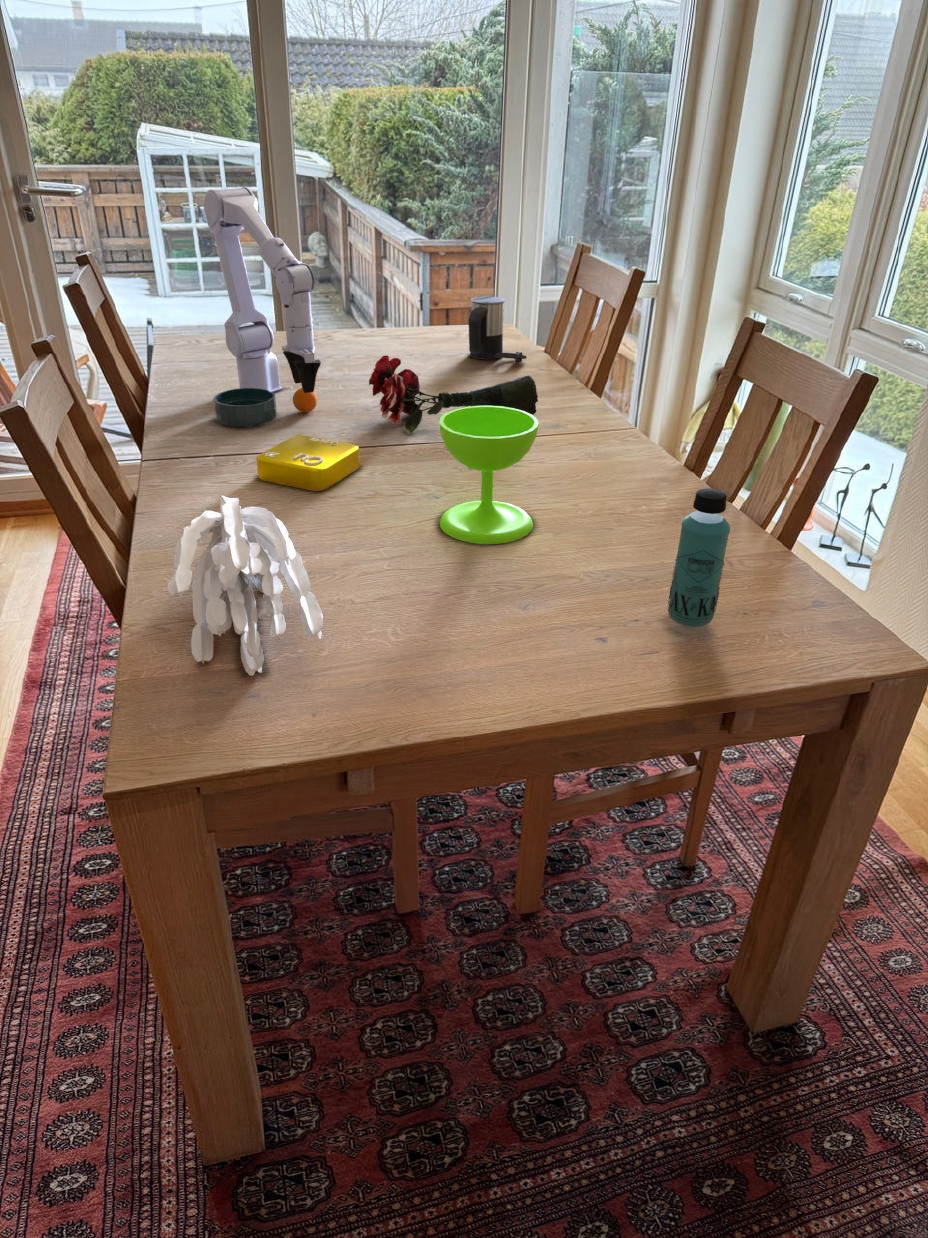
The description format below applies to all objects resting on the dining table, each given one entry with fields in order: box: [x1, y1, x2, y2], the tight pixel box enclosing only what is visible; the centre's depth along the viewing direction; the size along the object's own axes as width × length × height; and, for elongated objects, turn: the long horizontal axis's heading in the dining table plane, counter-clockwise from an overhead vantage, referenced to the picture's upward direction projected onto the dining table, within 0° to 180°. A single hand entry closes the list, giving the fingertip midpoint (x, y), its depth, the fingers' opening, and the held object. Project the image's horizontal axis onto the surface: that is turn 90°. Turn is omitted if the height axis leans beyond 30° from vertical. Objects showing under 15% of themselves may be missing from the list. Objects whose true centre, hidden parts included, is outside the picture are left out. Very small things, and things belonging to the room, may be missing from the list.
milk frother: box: [468, 295, 527, 363], centre depth 241 cm, size 14×16×15 cm
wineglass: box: [438, 406, 540, 545], centre depth 151 cm, size 16×16×18 cm
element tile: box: [255, 434, 360, 492], centre depth 173 cm, size 15×15×5 cm
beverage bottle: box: [666, 487, 731, 628], centre depth 123 cm, size 6×7×20 cm
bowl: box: [212, 387, 278, 428], centre depth 200 cm, size 13×13×5 cm
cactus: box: [166, 494, 324, 677], centre depth 125 cm, size 17×18×35 cm
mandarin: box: [292, 387, 318, 413], centre depth 204 cm, size 5×5×6 cm
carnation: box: [368, 354, 539, 435], centre depth 200 cm, size 16×18×35 cm
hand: (304, 387), depth 203 cm, fingers open, 7 cm apart
